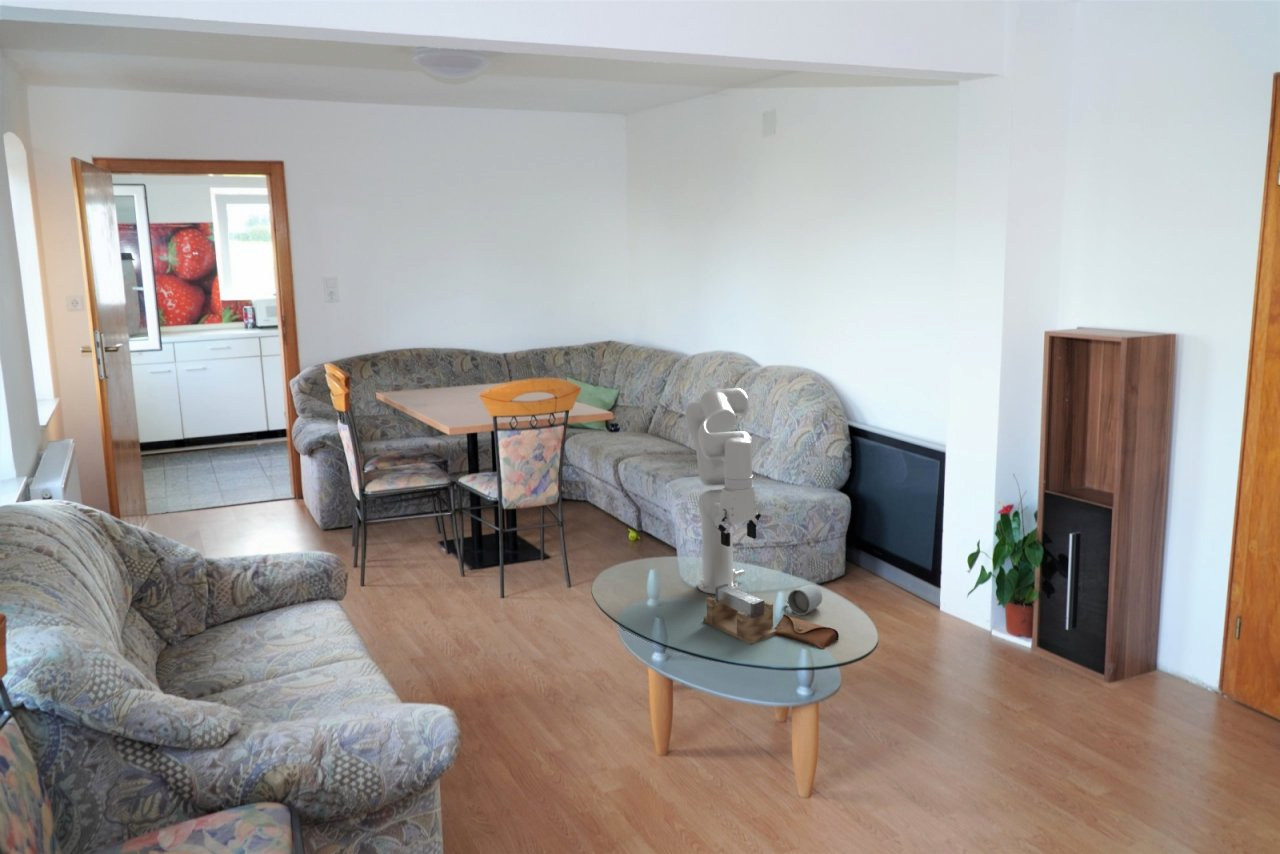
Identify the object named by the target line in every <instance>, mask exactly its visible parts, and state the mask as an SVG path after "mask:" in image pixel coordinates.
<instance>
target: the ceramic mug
mask: <svg viewBox="0 0 1280 854" xmlns="http://www.w3.org/2000/svg"><path fill="white" fill-rule="evenodd" d="M787 600H788V601H787ZM787 600H786V601H787V603H788V604H789V607H788V608H790V610H791V611H792V612H793V613H794V614H797V615H798V616H804V615H806V614H808V613H810V612H811V611H813V610H814V609H817V608H818V607H819V606H820V605H821V604H822V601H823V594H822V592H821V590H820V589H819V587H817V586H816V585H814V584H805V585H803V586H801V587H797V588H795V589H792V590H791V591H790V593H789V594H788V596H787Z"/></svg>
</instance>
